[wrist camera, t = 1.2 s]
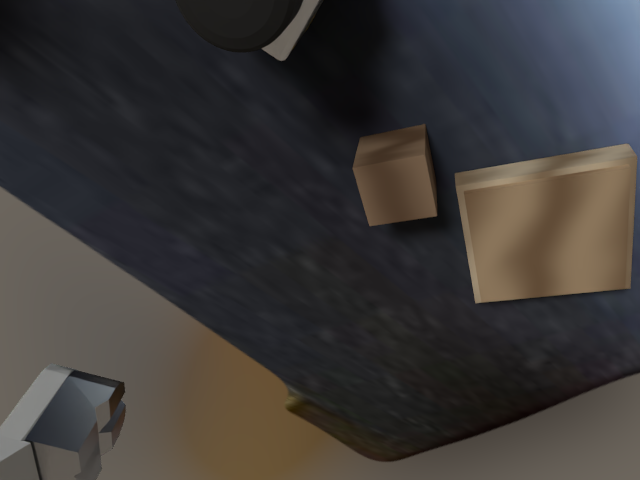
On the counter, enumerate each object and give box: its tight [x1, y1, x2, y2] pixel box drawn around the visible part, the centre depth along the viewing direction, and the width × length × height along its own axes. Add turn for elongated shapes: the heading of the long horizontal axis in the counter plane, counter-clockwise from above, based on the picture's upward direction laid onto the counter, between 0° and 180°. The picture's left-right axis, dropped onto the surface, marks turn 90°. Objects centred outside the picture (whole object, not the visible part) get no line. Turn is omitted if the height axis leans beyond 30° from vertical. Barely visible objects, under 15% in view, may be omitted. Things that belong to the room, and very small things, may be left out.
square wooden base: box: [455, 144, 637, 303], centre depth 40 cm, size 12×12×2 cm
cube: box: [353, 124, 437, 226], centre depth 38 cm, size 5×5×5 cm
